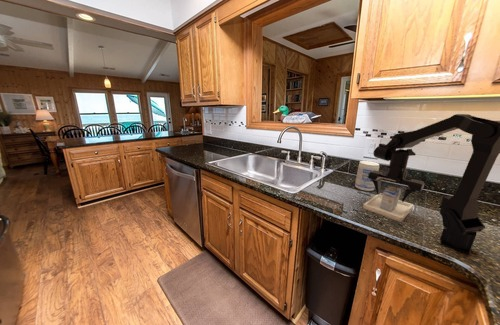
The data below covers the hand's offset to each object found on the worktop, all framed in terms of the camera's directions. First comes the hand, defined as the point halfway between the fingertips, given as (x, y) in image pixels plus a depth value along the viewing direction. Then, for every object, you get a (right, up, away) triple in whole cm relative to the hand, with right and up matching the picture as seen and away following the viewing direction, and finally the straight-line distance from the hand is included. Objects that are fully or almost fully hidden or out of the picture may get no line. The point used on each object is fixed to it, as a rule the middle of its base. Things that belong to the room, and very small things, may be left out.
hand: (390, 198), depth 84 cm
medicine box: (0, -4, +1) cm, 5 cm away
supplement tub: (+3, +1, +24) cm, 24 cm away
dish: (0, -5, +1) cm, 5 cm away
